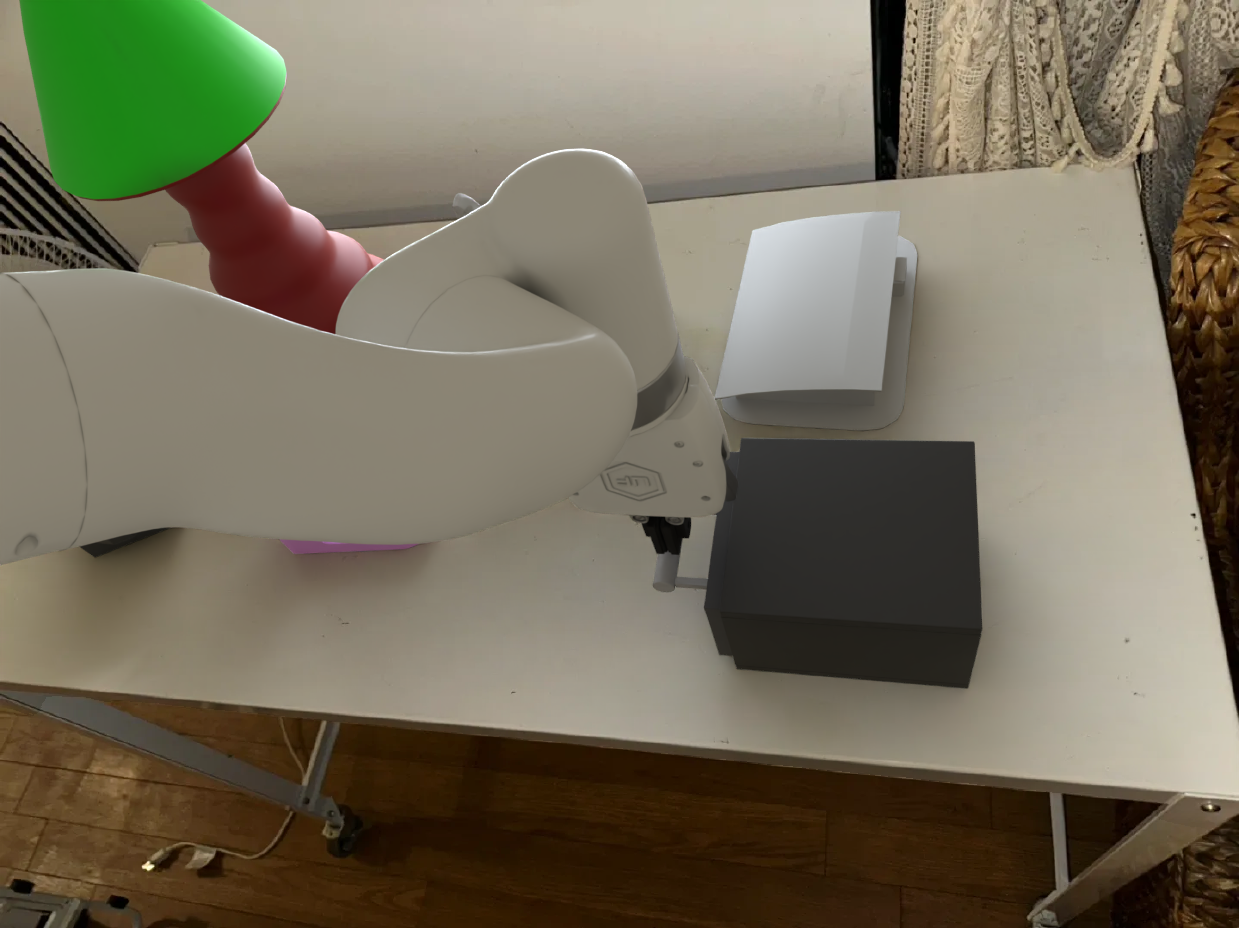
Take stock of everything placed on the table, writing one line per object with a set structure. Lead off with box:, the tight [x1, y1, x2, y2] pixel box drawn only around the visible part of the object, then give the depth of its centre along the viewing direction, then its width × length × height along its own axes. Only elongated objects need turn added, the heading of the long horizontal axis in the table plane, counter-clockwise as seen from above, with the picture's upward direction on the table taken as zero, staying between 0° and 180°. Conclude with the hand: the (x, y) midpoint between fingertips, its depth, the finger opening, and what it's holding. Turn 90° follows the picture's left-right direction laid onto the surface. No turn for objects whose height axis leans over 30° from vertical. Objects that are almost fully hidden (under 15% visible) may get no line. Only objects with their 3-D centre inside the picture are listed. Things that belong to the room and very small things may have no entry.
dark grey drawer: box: [651, 451, 739, 657], centre depth 64 cm, size 19×12×8 cm, turn 80°
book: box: [714, 210, 918, 432], centre depth 81 cm, size 15×23×4 cm, turn 167°
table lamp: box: [19, 0, 385, 335], centre depth 76 cm, size 20×20×45 cm
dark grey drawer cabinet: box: [720, 437, 984, 690], centre depth 63 cm, size 16×14×10 cm
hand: (671, 536), depth 65 cm, fingers closed
